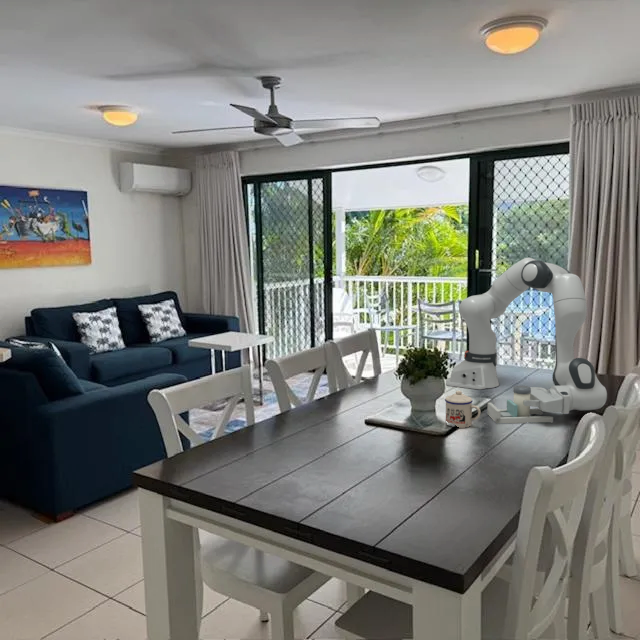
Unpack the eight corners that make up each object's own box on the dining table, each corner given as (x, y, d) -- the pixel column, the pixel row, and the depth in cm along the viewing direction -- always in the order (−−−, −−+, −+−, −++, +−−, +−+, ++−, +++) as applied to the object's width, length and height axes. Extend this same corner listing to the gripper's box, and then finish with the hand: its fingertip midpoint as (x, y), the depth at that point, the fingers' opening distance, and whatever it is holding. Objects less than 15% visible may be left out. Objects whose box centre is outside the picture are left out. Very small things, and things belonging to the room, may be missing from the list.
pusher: (509, 414, 215) (510, 399, 215) (517, 420, 208) (517, 405, 207) (497, 415, 215) (497, 400, 215) (504, 421, 208) (504, 405, 207)
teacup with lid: (441, 426, 205) (441, 392, 203) (450, 419, 213) (450, 386, 211) (475, 431, 199) (476, 396, 197) (484, 424, 206) (484, 390, 205)
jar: (512, 420, 210) (512, 389, 209) (513, 415, 216) (514, 385, 214) (529, 421, 208) (530, 390, 207) (530, 416, 214) (531, 386, 212)
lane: (540, 413, 217) (541, 401, 217) (552, 422, 207) (553, 409, 206) (487, 414, 217) (487, 402, 217) (497, 423, 206) (497, 411, 206)
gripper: (547, 382, 221) (509, 383, 221) (571, 396, 201) (529, 398, 201) (546, 399, 222) (509, 400, 222) (570, 415, 202) (529, 416, 201)
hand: (519, 399), depth 211 cm, fingers open, 8 cm apart
